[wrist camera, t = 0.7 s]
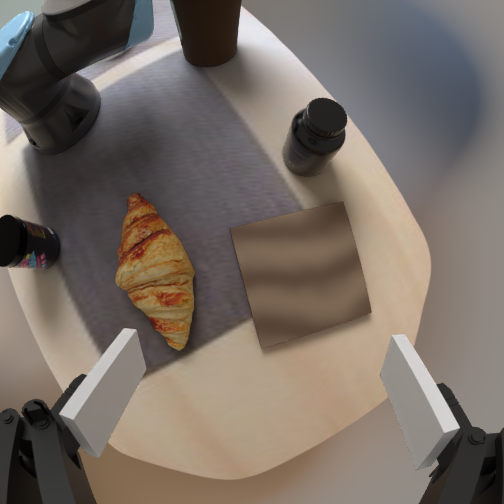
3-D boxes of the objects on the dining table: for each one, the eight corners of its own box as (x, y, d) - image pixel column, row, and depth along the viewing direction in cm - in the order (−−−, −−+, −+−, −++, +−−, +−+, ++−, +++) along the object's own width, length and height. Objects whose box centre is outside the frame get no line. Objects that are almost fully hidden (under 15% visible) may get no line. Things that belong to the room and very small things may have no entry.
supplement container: (27, 259, 36) (-15, 253, 25) (41, 221, 36) (0, 207, 26) (52, 277, 36) (10, 276, 25) (67, 237, 36) (26, 226, 26)
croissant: (205, 334, 40) (229, 337, 33) (142, 360, 35) (153, 370, 28) (160, 198, 41) (174, 174, 34) (96, 212, 35) (97, 189, 29)
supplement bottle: (306, 128, 40) (328, 82, 28) (335, 162, 40) (368, 124, 28) (271, 150, 39) (285, 105, 27) (301, 187, 39) (327, 151, 27)
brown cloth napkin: (229, 229, 38) (229, 228, 37) (339, 203, 39) (342, 201, 38) (260, 346, 37) (261, 348, 36) (368, 311, 38) (371, 312, 37)
